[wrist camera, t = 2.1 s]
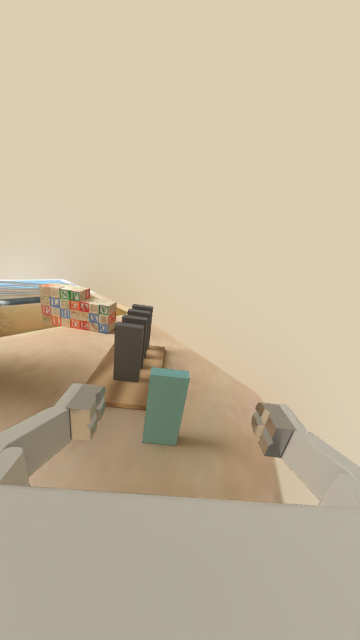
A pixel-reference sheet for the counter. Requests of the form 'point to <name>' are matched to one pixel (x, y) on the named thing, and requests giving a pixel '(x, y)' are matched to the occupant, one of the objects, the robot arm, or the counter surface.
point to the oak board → (124, 391)
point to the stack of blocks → (76, 308)
